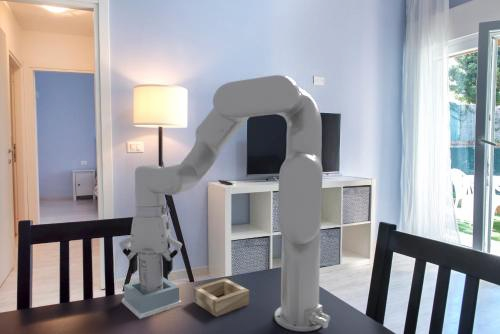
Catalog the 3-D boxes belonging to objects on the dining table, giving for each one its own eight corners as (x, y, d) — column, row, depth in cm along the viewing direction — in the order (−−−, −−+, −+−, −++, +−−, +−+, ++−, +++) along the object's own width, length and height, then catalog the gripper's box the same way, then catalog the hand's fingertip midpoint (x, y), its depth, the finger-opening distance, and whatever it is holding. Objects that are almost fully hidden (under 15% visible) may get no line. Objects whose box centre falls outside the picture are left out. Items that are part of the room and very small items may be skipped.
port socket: (181, 304, 98) (181, 287, 98) (139, 318, 91) (139, 299, 90) (161, 290, 108) (161, 274, 107) (121, 302, 100) (121, 284, 99)
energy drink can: (164, 303, 97) (162, 249, 96) (140, 306, 95) (138, 251, 94) (162, 293, 103) (161, 242, 101) (140, 296, 101) (138, 244, 100)
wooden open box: (249, 304, 99) (249, 290, 99) (216, 316, 92) (216, 301, 92) (225, 291, 107) (225, 278, 107) (193, 301, 100) (193, 287, 100)
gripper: (185, 209, 100) (185, 269, 101) (125, 207, 102) (126, 266, 103) (177, 214, 93) (178, 279, 94) (112, 213, 94) (114, 276, 95)
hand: (151, 272), depth 98 cm, fingers open, 9 cm apart
